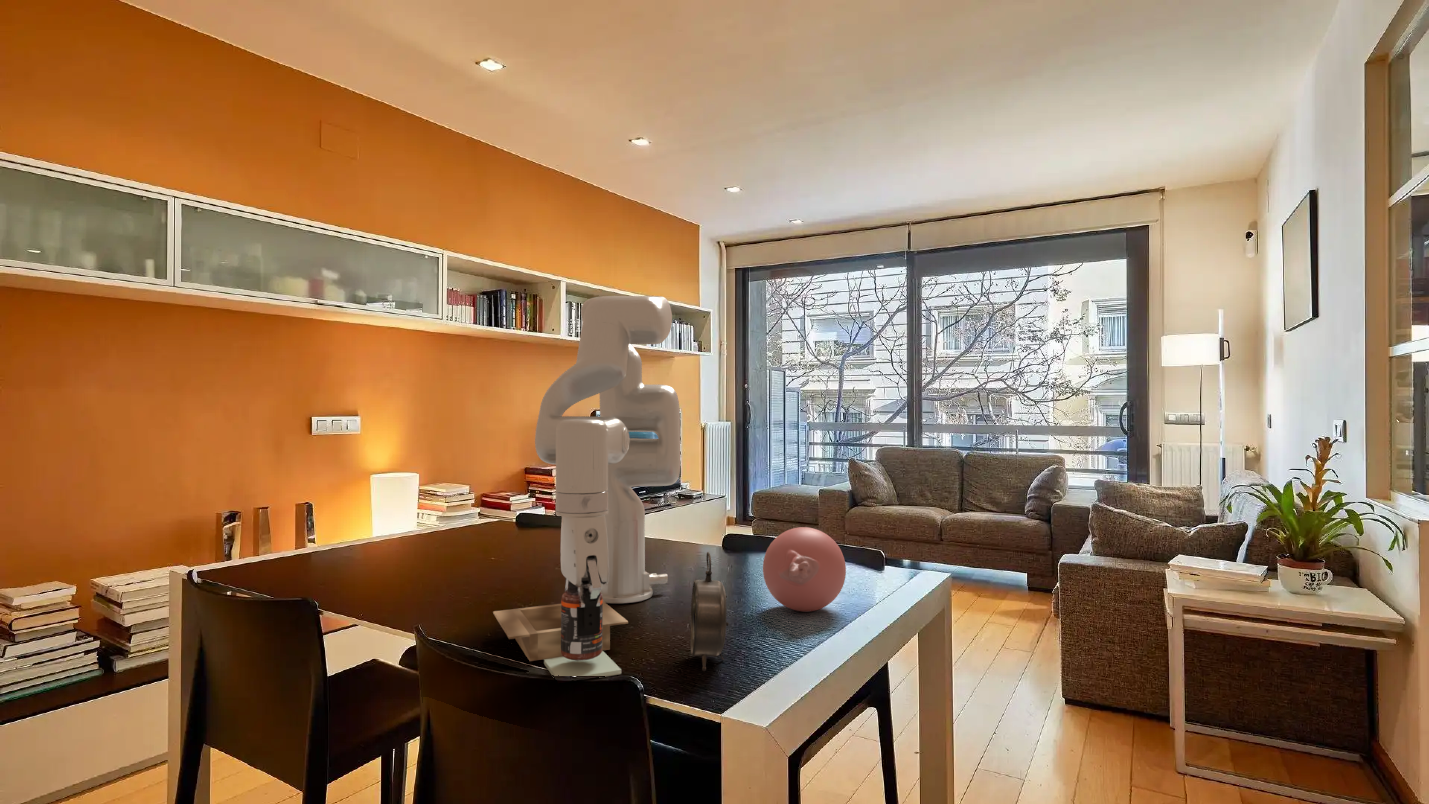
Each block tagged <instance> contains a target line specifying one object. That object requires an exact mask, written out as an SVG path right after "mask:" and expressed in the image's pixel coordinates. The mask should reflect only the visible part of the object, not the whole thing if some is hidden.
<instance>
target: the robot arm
mask: <svg viewBox="0 0 1429 804" xmlns="http://www.w3.org/2000/svg"><path fill="white" fill-rule="evenodd" d="M670 305H671V304H670V302H669V301H668V299H667V298H666V297H664V296H659V295H604V296H603V295H601V296H596V297H591V298H589V299H587V300H586V301H584V302H583V303H582V305H581V311H580V312H581V313H580V315H581V316H580V317H581V321H582V325H581V329H580V330H581V331H580V336H579V337H580V338H579V341H578V342H579V343H578V349H577V353H576V354H577V355H576V363H575V364H573V365H572V366H571V367H569V368H568V369H567V370H565V371H564V372H563V373H562V374H561V375H559V377H557V378H556V380H554V382H553V383H552V384H551V385H550V386H549V387H548V388H547V390H546V392H545V393H544V396H543V397H542V400H541V403H540V407H539V410H538V411H539V412H538V416H537V417H538V418H537V422H536V428H535V435H534V436H535V437H534V445H535V452H536V455H537V456H538V458H539V459H540V460H541V461H542V462H544V463H546V464H549V465H555V515H556V516H557V517H561V524H560V527H561V528H560V571H561V575H563V577H564V578H565V585H564V587H565V588H564V593H565V592H566V591H567V589H568V588H569V586H568V580H569V581H570V582H571V583H573V584H574V585H575V586H577V587H578V598H579V607H577V635H578V636H586V635H593V634H598V633H599V632H600V592H601V593H602V598H603V601H604V602H605V603H606V604H630V603H638V602H642V601H645V600H649V599H650V598H651V597H652V596H653V592H654V591H653V588H652V587H653V586H654V585H662V584H668V582H669V577H668V574H667V573H660V574H657V573H656V572H655V573H649V572H647V570H645V569H646V568H645V567H646V564H645V563H646V560H645V559H646V551H645V550H646V543H645V542H646V537H645V536H646V533H645V532H646V528H645V526H646V523H645V521H646V511H645V506H644V503H643V502H642V500H641V498H640V497H639V496H638V495H637V493H636V492H635V491H634V490H633V487H663V486H664V487H666V486H672V485H674V484H676V482H677V481H678V480H679V477H680V472H681V417H680V416H681V413H680V403H679V402H680V401H679V397H678V396H679V395H678V394H677V391H676V390H675V389H674V388H673V387H672V386H670V385H668V384H644V382H643V362H642V358H641V356H640V354H639V352H638V351H637V350H636V348H635V347H634V346H633V345H659V344H660V345H661V344H662V343H663V342H664V341H665V340H666V339H667V337H668V336H669V335H670V332H671V329H672V325H673V314H672V308H671V306H670ZM598 394H599V416H588V415H587V416H580V415H578V416H574V415H573V416H569V415H565V416H563V415H564V414H565V412H566V411H568V409H570V407H572V406H574V405H575V404H577V403H579V402H581V401H583V400H585V399H588V398H591V397H593V396H596V395H598ZM630 432H631V433H633V432H634V433H635V432H636V433H637V432H639V433H654V434H655V435H656V436H657V438H638V437H637V438H632V437H631V438H630ZM585 580H589V584H583V582H582V581H585ZM584 589H589V591H586V593H585V596H584Z"/></svg>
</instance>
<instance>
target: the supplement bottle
mask: <svg viewBox="0 0 1429 804" xmlns="http://www.w3.org/2000/svg"><path fill="white" fill-rule="evenodd" d="M582 582H583V584H589V580H585V581H582ZM568 586H569V588H568V589H567V591H566V592H565V591H564V592H563V593H562V595H561V601H560V604H561V654H562V657H565V658H567V659H570V660H577V661H578V660H589V659H593V658H595V657H597V656H599V655H600V654H601V652H602V640H603V639H602V636H603V635H602V627H603V626H602V621H603V616H602V615H603V598H602V593H601V592H600V632H599V633H598V634H593V635H586V636H578V635H577V607H579V598H578V587H577V586H575V585H574V584H573V583H571V582H570V581H569V580H568ZM586 591H589V589H584V596H585V593H586Z"/></svg>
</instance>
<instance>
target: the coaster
mask: <svg viewBox="0 0 1429 804" xmlns="http://www.w3.org/2000/svg"><path fill="white" fill-rule="evenodd" d="M543 664H544V666H545V667H546V669H547V670H548V671H549V673H550V674H551V676H552V675H554V676H558V675H559V676H605V677H611V676H617V675H622V668H621V667H620V666H618V665H617V664H616V662H615V661H614V660H613V659H611V657H609V655H607V653H606V652H605V650H603V651H602V652H601V654H600V655H599V656H597V657H595V658H593V659H589V660H578V661H577V660H570V659H567V658H565V657H563V656H562V657H556V658H549V659H543Z"/></svg>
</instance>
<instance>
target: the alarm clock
mask: <svg viewBox="0 0 1429 804" xmlns="http://www.w3.org/2000/svg"><path fill="white" fill-rule="evenodd" d="M705 557H706V571H705V579H694V580H693V584H692V589H691V601H690V603H691V604H690V627H689V628H690V632H689V633H690V635H689V639H690V640H689V643H690V644H689V645H690V653H691V656H692V657H701V664H702V667H701V671H702V672H705V671H707V666H706V665H707V657H718V656H719V657H720V658H721V659H722V660H723V661H725V659H724V657H723V655H722V652H723V649H724V646H725V642H726V634H727V633H726V632H727V627H728V626H729V625H730V624H729V622H728V621H727V616H728V615H727V613H728V611H727V598H728V596H727V593H726V588H725V586H724V585H723V583H722V582H721V581H719V580H717V579H716V580H715V579H714V580H713V579H712V574H713V572H712V557H711V553H710V551H707V552H706V556H705Z"/></svg>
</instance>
